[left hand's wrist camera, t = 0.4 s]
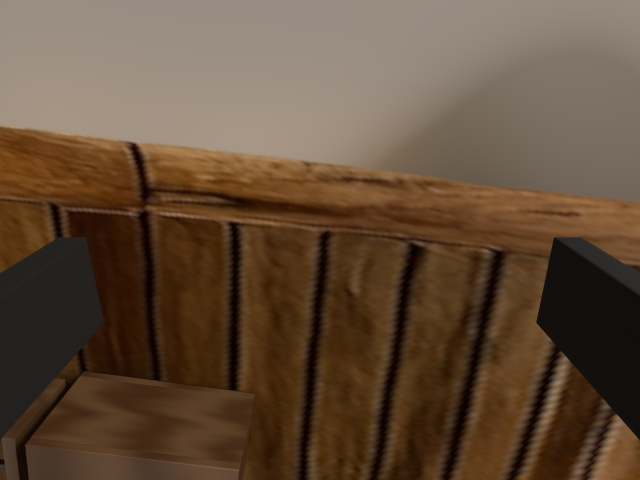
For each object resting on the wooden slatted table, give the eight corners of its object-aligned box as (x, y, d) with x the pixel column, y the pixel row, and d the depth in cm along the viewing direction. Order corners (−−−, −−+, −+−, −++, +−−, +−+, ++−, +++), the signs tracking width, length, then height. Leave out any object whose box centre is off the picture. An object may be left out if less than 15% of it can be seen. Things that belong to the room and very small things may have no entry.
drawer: (6, 438, 49) (-52, 505, 41) (-3, 370, 46) (-68, 429, 38) (212, 463, 50) (192, 532, 43) (218, 398, 47) (198, 461, 39)
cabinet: (86, 445, 51) (34, 529, 41) (83, 370, 47) (24, 444, 38) (245, 464, 52) (228, 550, 42) (255, 393, 48) (239, 470, 39)
